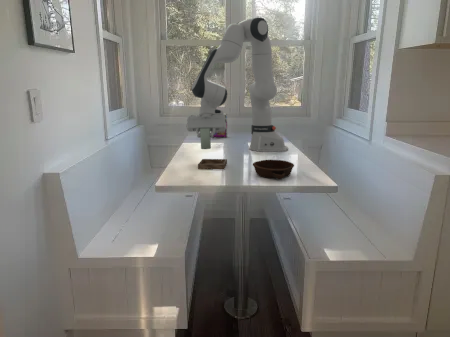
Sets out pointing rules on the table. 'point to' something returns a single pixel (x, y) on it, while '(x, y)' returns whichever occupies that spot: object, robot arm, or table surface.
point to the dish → (273, 168)
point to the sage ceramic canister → (205, 138)
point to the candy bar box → (221, 133)
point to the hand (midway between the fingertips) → (205, 136)
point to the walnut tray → (212, 164)
